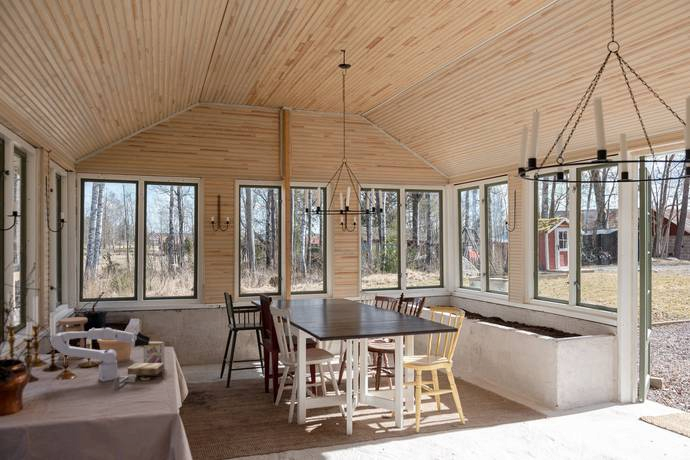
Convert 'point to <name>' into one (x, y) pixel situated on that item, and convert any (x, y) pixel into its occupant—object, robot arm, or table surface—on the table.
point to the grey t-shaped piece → (122, 380)
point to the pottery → (116, 348)
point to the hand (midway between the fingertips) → (149, 341)
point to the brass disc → (145, 378)
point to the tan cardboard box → (146, 369)
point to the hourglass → (73, 329)
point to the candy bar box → (154, 352)
